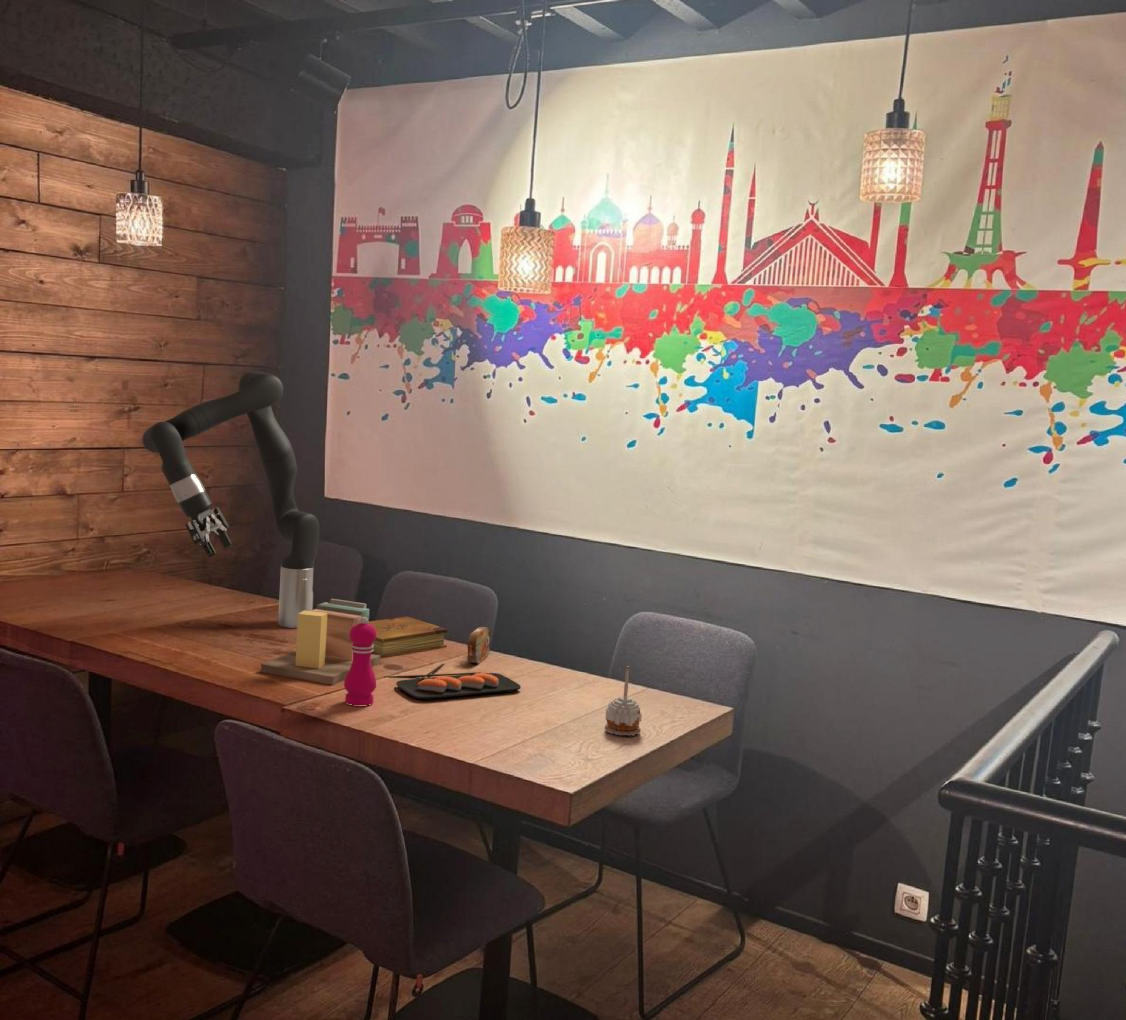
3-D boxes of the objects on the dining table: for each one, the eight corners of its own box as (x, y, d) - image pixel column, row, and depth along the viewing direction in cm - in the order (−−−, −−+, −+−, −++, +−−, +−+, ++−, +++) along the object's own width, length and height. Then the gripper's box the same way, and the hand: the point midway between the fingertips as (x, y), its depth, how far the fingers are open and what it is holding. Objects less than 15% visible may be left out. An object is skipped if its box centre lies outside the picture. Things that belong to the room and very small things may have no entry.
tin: (475, 667, 285) (478, 635, 284) (464, 665, 286) (466, 634, 285) (490, 654, 300) (493, 624, 299) (479, 652, 300) (482, 623, 299)
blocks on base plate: (312, 651, 288) (315, 596, 286) (380, 662, 282) (383, 606, 280) (260, 672, 265) (263, 612, 263) (332, 684, 259) (336, 623, 257)
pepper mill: (347, 696, 251) (351, 612, 248) (378, 699, 250) (383, 614, 248) (339, 705, 243) (344, 618, 241) (371, 708, 243) (376, 621, 241)
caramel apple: (646, 735, 240) (652, 669, 238) (619, 739, 235) (625, 672, 233) (625, 724, 246) (630, 660, 244) (597, 729, 241) (603, 663, 240)
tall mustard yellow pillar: (301, 661, 270) (304, 610, 268) (324, 664, 269) (327, 613, 268) (295, 665, 266) (298, 613, 265) (318, 668, 265) (321, 616, 264)
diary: (404, 635, 316) (405, 615, 316) (446, 649, 304) (447, 629, 303) (338, 644, 299) (340, 623, 299) (381, 659, 287) (382, 638, 286)
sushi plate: (415, 705, 250) (416, 689, 249) (367, 671, 275) (368, 656, 274) (525, 695, 265) (526, 680, 265) (469, 663, 290) (470, 649, 290)
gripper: (188, 496, 271) (219, 553, 274) (216, 483, 285) (245, 538, 287) (165, 507, 273) (195, 564, 276) (193, 493, 287) (222, 548, 289)
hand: (220, 550), depth 282 cm, fingers open, 8 cm apart
